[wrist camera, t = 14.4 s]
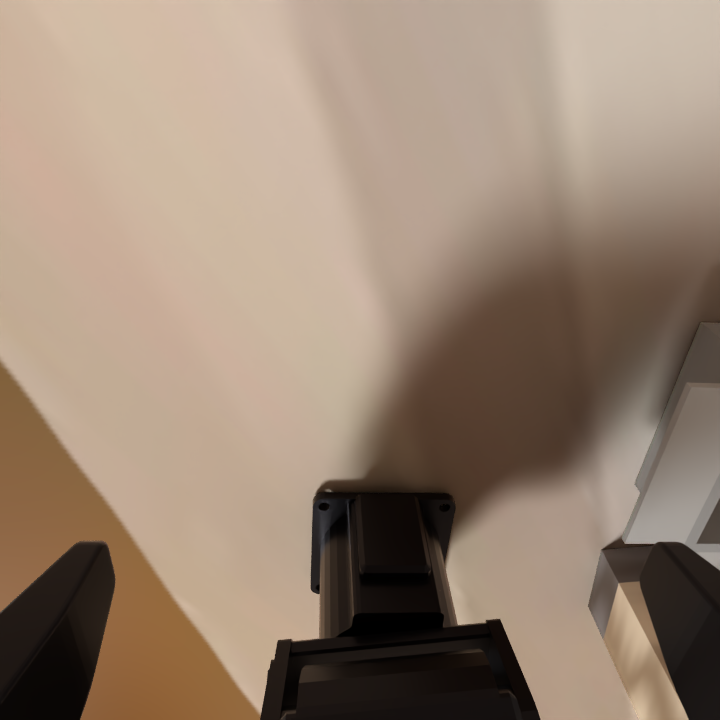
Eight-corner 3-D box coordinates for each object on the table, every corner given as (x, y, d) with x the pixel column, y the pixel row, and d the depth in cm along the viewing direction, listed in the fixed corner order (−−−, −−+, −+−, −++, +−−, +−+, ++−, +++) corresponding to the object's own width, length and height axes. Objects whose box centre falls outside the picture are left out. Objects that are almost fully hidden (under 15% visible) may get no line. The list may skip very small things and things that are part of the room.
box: (669, 599, 32) (780, 787, 24) (588, 605, 31) (673, 797, 24) (688, 542, 29) (819, 731, 21) (601, 549, 29) (701, 741, 21)
